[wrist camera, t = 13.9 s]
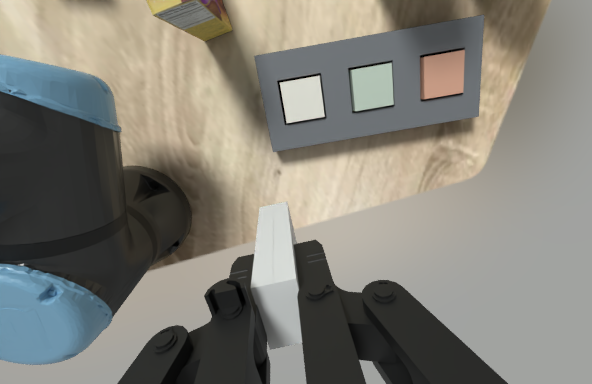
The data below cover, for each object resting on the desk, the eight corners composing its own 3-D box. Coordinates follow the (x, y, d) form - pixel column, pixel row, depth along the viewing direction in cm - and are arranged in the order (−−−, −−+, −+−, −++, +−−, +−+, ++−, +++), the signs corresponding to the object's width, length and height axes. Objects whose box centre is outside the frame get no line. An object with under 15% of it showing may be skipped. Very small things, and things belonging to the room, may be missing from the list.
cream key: (286, 120, 40) (286, 123, 37) (280, 83, 39) (279, 82, 36) (321, 114, 40) (324, 116, 37) (316, 76, 39) (319, 75, 35)
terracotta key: (413, 98, 40) (424, 99, 37) (412, 59, 38) (424, 57, 35) (449, 92, 40) (463, 92, 37) (450, 52, 38) (464, 49, 35)
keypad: (273, 147, 42) (273, 151, 39) (256, 58, 38) (254, 55, 35) (465, 114, 41) (478, 116, 38) (469, 20, 37) (484, 14, 34)
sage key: (349, 109, 40) (355, 111, 37) (346, 71, 38) (351, 69, 35) (385, 103, 40) (393, 104, 37) (383, 64, 38) (391, 62, 35)
